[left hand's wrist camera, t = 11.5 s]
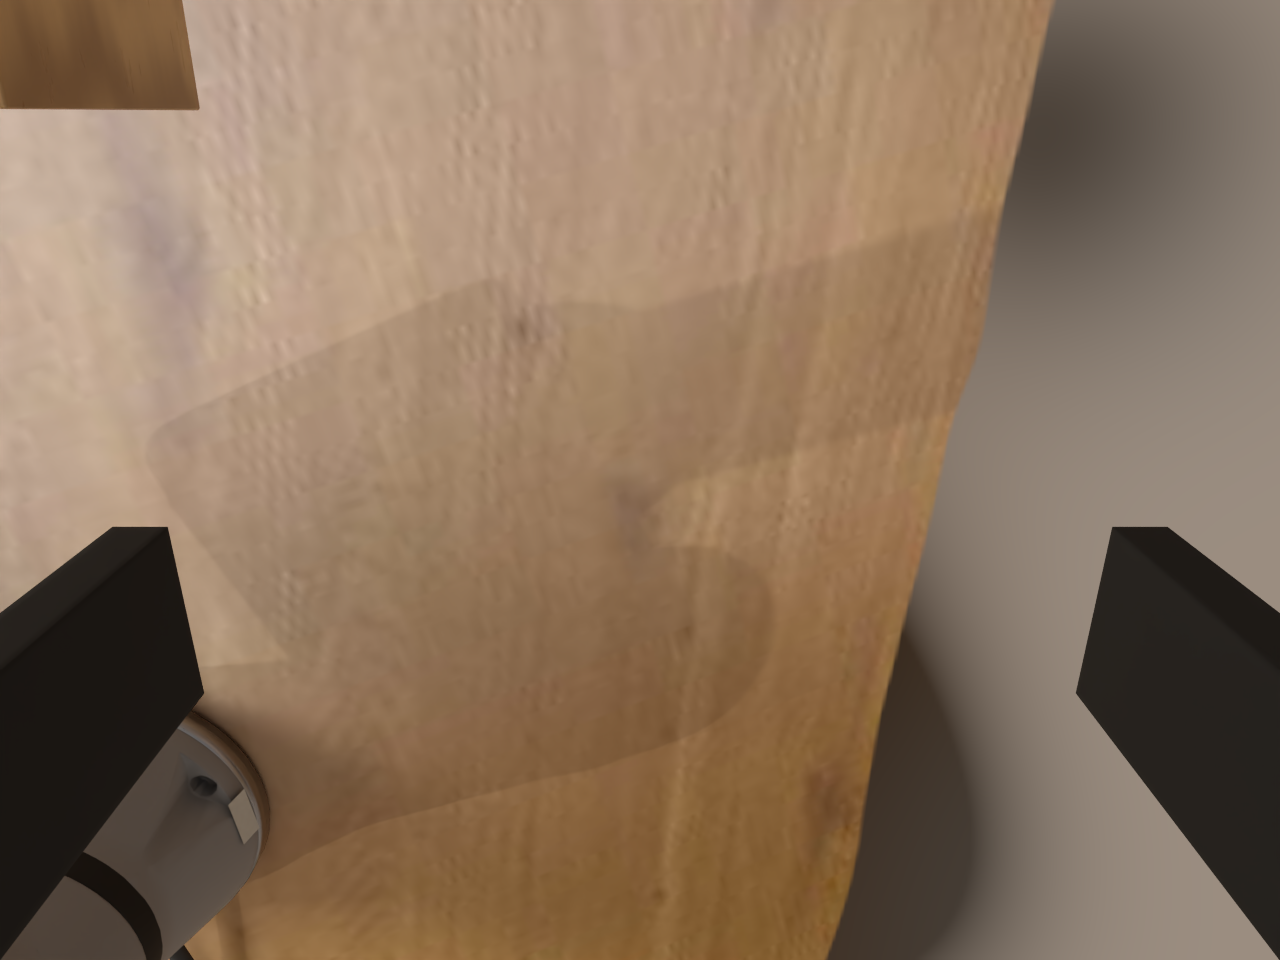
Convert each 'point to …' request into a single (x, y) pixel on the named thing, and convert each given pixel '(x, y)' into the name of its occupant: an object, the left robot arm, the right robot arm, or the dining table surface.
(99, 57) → the bar
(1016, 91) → the dining table surface
